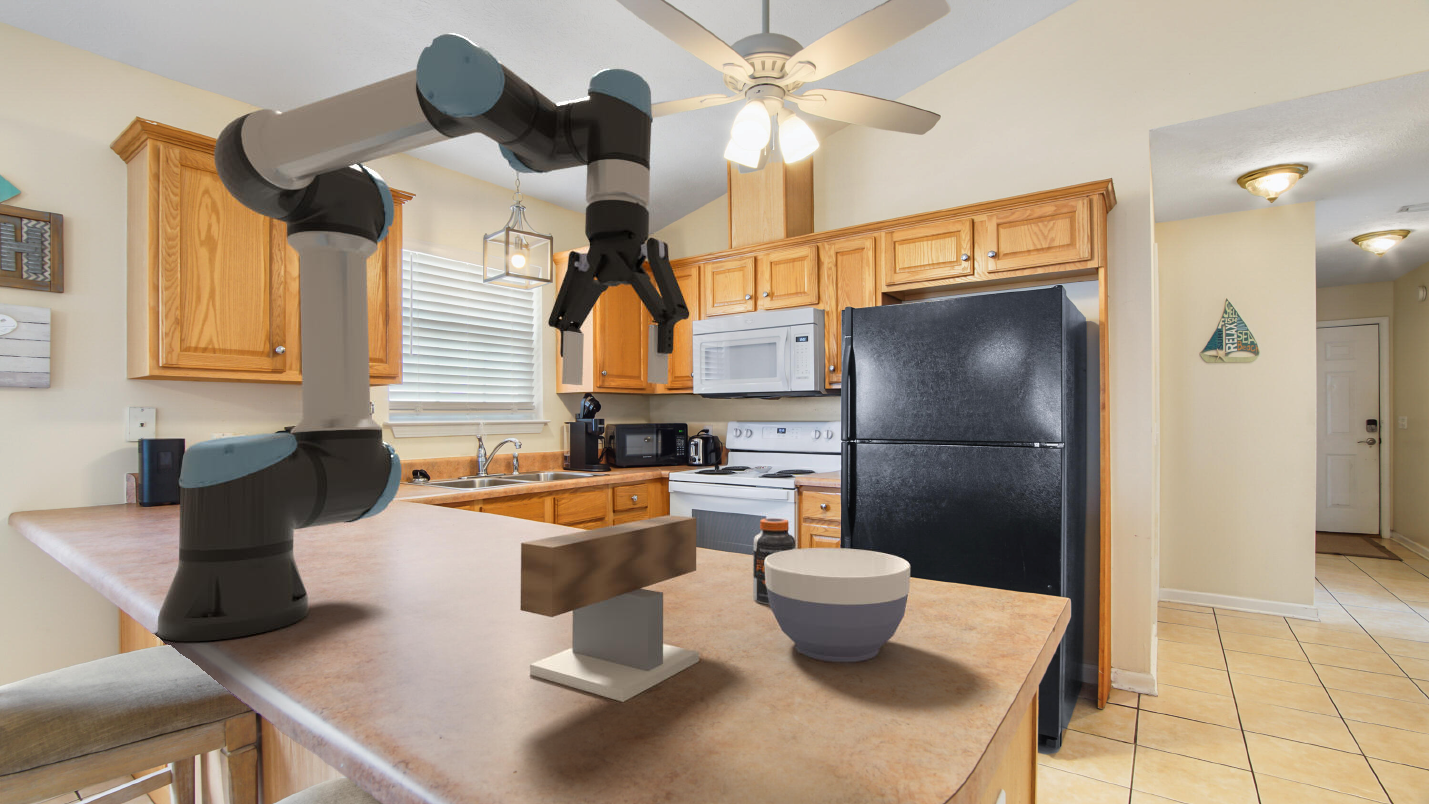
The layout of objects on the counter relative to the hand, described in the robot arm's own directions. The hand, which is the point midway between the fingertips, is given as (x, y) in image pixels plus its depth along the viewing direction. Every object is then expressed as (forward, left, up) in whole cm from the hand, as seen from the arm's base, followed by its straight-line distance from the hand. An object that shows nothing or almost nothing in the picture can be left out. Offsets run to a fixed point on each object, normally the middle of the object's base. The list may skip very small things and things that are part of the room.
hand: (612, 384), depth 79 cm
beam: (+8, -7, -22) cm, 24 cm away
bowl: (+24, +10, -30) cm, 40 cm away
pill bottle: (+9, +24, -30) cm, 39 cm away
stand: (+7, -8, -30) cm, 31 cm away
